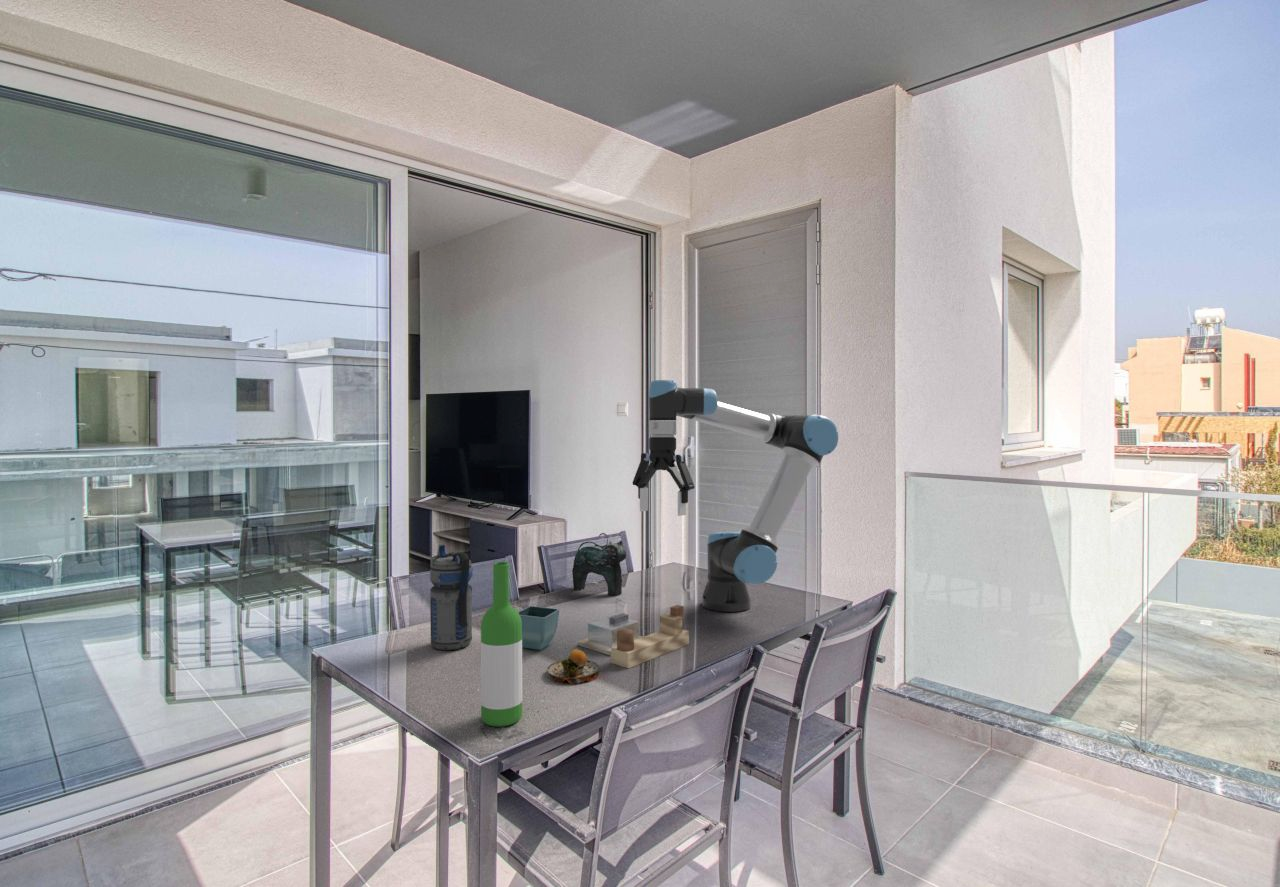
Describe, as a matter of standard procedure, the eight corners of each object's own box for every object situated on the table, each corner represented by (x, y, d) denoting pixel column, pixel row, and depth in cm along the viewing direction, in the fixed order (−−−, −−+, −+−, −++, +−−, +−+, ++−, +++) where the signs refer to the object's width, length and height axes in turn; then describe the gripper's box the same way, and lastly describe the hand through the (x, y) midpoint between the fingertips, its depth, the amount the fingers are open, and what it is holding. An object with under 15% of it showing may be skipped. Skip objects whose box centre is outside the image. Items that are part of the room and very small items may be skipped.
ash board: (615, 632, 183) (615, 628, 183) (649, 642, 176) (649, 638, 176) (577, 645, 173) (577, 641, 173) (611, 655, 165) (611, 651, 165)
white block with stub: (615, 631, 181) (615, 610, 181) (638, 638, 175) (638, 616, 175) (587, 640, 173) (587, 618, 173) (612, 648, 168) (612, 625, 168)
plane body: (672, 639, 178) (672, 603, 177) (689, 644, 174) (689, 607, 174) (611, 662, 160) (611, 622, 160) (628, 668, 157) (628, 627, 156)
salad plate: (573, 662, 161) (573, 631, 161) (610, 674, 154) (610, 641, 154) (535, 677, 152) (535, 644, 152) (572, 690, 145) (572, 655, 144)
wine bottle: (497, 732, 124) (496, 569, 123) (472, 720, 129) (471, 563, 128) (530, 719, 130) (530, 563, 129) (505, 707, 135) (505, 557, 134)
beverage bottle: (448, 657, 164) (447, 554, 163) (421, 644, 173) (421, 547, 172) (484, 647, 171) (484, 548, 170) (457, 635, 180) (457, 542, 180)
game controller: (627, 594, 225) (627, 534, 224) (616, 598, 219) (616, 536, 219) (579, 586, 235) (579, 529, 235) (568, 590, 230) (568, 531, 229)
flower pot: (560, 643, 175) (560, 608, 174) (544, 654, 166) (544, 617, 166) (529, 639, 178) (529, 605, 177) (512, 650, 169) (512, 614, 169)
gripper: (620, 435, 193) (620, 510, 193) (690, 437, 176) (690, 518, 177) (637, 435, 198) (637, 507, 199) (707, 436, 182) (707, 515, 182)
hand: (662, 513), depth 188 cm, fingers open, 13 cm apart
